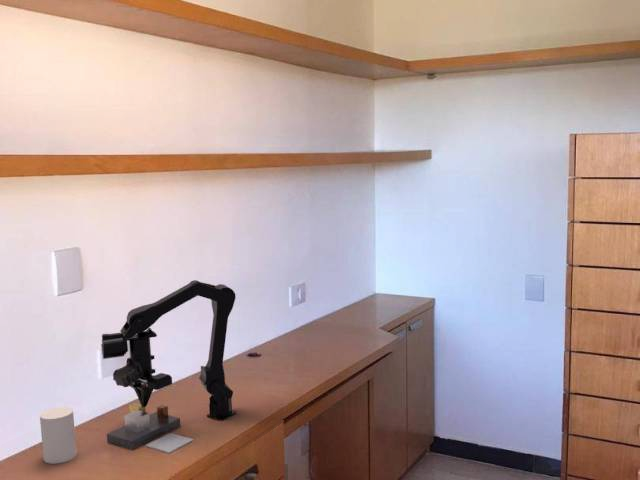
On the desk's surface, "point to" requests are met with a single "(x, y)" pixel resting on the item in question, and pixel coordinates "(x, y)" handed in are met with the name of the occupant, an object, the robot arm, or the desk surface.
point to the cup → (58, 435)
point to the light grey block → (137, 421)
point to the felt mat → (169, 443)
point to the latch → (136, 407)
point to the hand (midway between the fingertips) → (144, 406)
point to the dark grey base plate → (145, 430)
